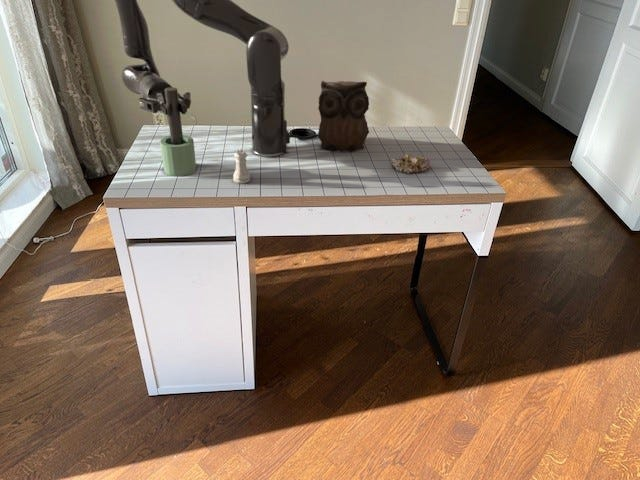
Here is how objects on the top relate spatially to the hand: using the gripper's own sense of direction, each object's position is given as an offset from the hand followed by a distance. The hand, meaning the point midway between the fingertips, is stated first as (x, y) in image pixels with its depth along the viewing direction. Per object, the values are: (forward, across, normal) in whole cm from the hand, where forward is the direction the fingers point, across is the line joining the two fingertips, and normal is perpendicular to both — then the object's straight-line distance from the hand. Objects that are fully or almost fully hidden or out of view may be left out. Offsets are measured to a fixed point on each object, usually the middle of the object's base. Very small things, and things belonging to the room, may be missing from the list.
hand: (176, 111), depth 119 cm
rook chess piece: (+10, +12, +17) cm, 23 cm away
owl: (+1, +49, +17) cm, 52 cm away
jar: (-3, 0, +17) cm, 17 cm away
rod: (-3, 0, +13) cm, 14 cm away
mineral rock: (+23, +57, +17) cm, 64 cm away
